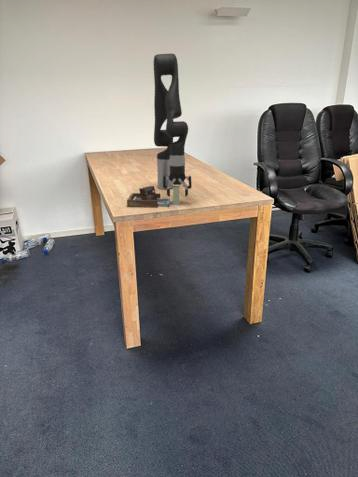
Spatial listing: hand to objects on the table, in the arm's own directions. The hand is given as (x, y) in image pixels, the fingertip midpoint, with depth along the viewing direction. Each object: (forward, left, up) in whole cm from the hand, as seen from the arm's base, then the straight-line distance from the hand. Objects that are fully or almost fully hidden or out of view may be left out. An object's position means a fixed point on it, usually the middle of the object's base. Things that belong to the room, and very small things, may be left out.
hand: (177, 196), depth 183 cm
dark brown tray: (0, -17, -4) cm, 17 cm away
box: (0, -14, -3) cm, 14 cm away
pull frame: (0, -11, -4) cm, 12 cm away
